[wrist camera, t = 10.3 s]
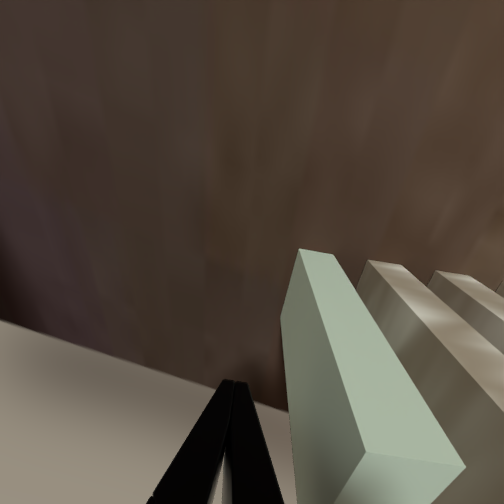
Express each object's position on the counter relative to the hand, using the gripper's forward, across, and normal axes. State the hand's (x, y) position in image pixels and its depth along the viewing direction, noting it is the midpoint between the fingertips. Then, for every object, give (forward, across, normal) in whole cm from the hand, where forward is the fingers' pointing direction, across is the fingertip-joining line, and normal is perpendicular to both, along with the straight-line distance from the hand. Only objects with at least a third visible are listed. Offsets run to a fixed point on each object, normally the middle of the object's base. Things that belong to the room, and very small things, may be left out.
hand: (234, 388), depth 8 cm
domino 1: (+7, -4, 0) cm, 8 cm away
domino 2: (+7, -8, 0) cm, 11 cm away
